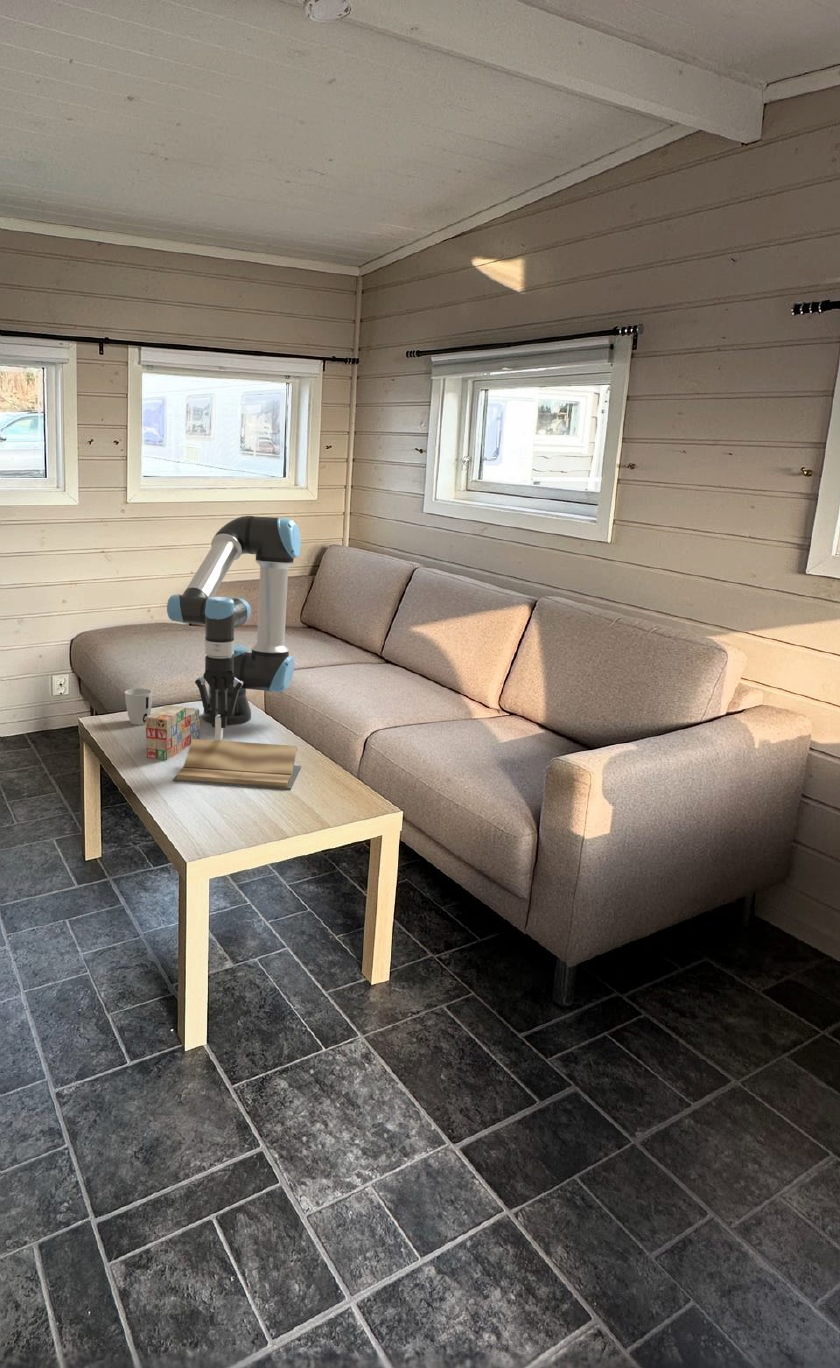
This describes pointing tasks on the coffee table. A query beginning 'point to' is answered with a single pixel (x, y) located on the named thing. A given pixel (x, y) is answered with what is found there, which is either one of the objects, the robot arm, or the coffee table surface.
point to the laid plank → (234, 777)
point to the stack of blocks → (171, 731)
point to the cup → (138, 705)
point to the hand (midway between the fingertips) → (219, 738)
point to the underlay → (294, 775)
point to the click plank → (241, 757)
